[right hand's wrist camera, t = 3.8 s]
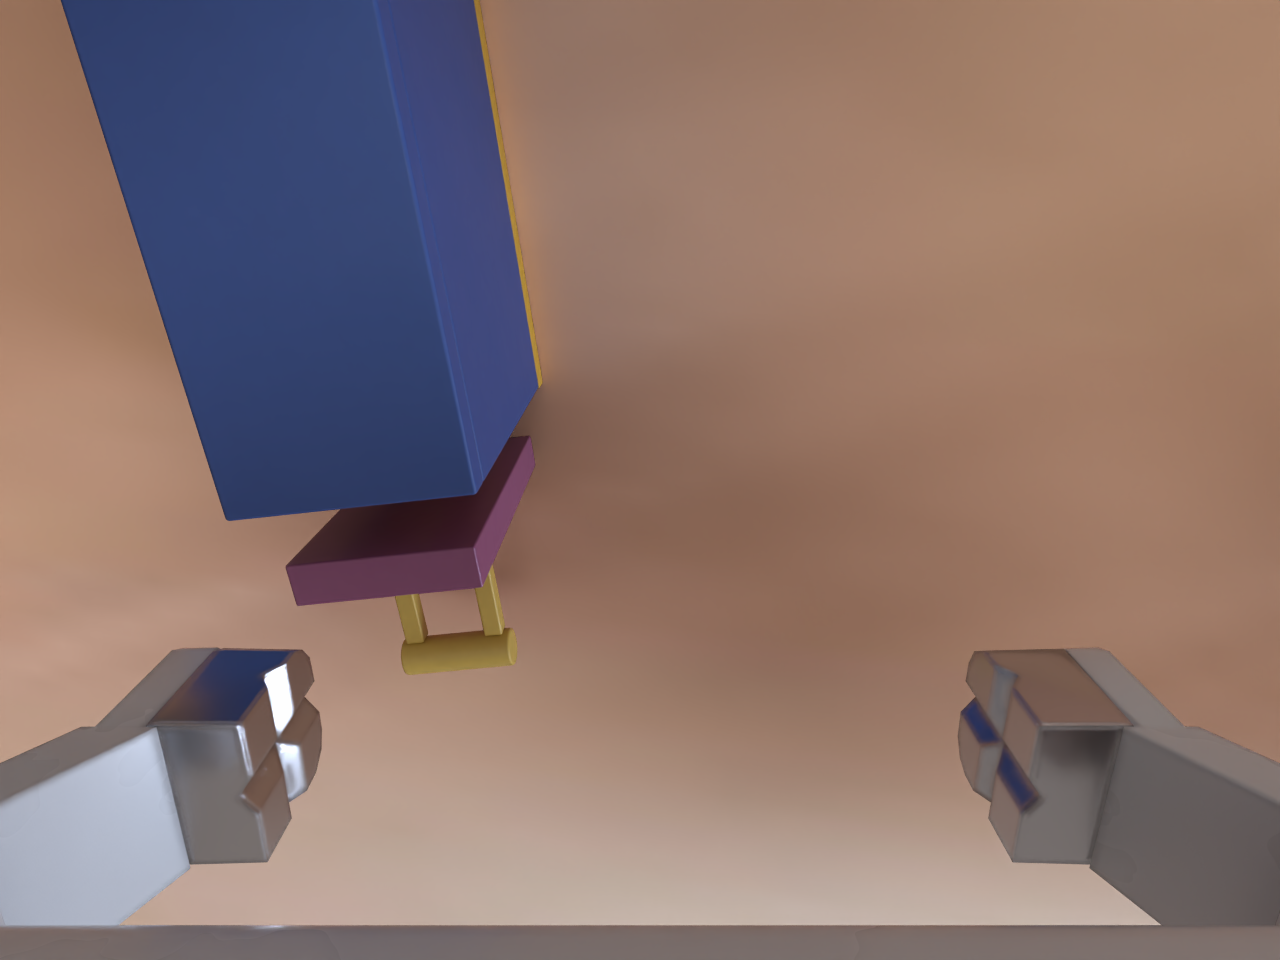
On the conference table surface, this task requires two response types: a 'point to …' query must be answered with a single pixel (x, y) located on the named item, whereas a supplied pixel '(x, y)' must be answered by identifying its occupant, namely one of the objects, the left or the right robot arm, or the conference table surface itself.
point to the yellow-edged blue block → (322, 238)
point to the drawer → (424, 563)
